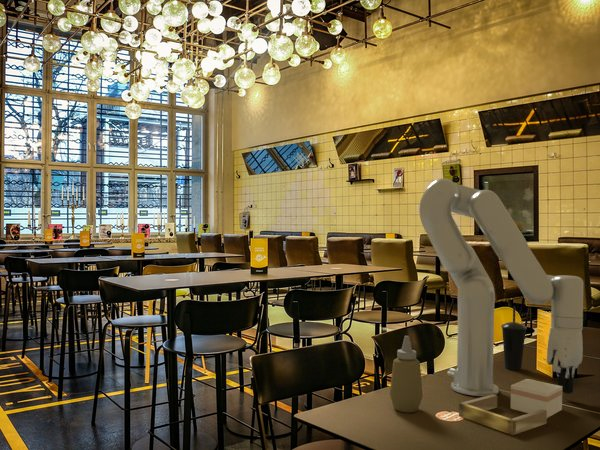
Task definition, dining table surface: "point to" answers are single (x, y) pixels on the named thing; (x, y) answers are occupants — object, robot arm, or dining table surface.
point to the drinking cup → (513, 343)
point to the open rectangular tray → (479, 414)
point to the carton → (536, 397)
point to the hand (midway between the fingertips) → (565, 391)
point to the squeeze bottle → (406, 379)
